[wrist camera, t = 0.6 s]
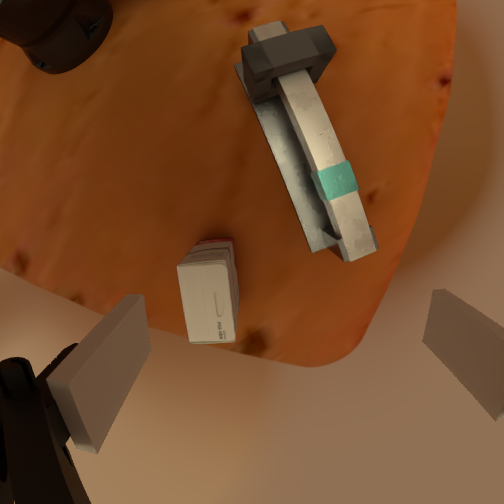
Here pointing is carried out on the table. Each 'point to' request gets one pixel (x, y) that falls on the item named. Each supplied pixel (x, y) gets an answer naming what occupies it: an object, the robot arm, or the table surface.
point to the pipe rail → (295, 170)
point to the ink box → (210, 291)
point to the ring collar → (285, 59)
